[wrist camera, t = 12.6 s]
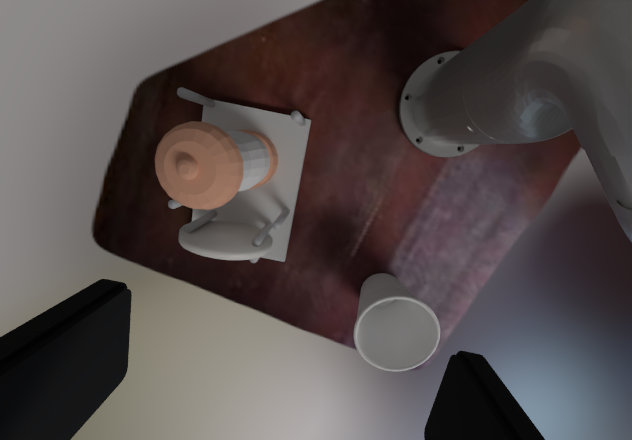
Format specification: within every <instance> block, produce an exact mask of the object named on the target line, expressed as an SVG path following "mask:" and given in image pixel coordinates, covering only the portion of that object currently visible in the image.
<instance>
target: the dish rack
mask: <svg viewBox="0 0 632 440" xmlns="http://www.w3.org/2000/svg"><path fill="white" fill-rule="evenodd" d="M177 95H178V96H179V97H181V98H184V99H187V100H190V101H193V102H196V103H199V104H202V105H203V115H202V122H207V123H209V124H212V125H215V126H217V127H219V128H221V129H222V130H223V131H224V132H228V131H237V130H251V131H255V132H258V133H261V134H263V135H265V136H266V137H267V138H268V139H270V140H271V142H272V143H273V145H274V146H275V147H276V151H277V154H278V166H277V169H276V172H275V174H274V175H273V177H272V178H271V179H270V180H269V181H267V182H266V183H264V184H263V185H261V186H259V187H257V188H253V189H247V190H243V191H237V193H236V194H235V196H234V197H233V198H232V199H231V200H230V201H228V202H227V203H226V204H224V205H223V206H221V207H217V208H214V209H210V210H205V209H193V214H192V222H190V223H189V224H186V225H184V226H182V227H181V228H180V230H179V243H180V244H181V246H182V247H183V248H184V249H187V250H189V251H191V252H193V253H196V254H198V255H202V256H205V257H210V258H215V259H223V260H248V259H249V260H250V261H251V262H252V263H256V262H257V261H258V259H259V258H260V257H262V258H267V259H272V260H277V261H282V262H285V259H286V254H287V249H288V243H289V238H290V232H291V227H292V222H293V216H294V211H295V205H296V200H297V195H298V189H299V184H300V178H301V173H302V168H303V162H304V157H305V151H306V146H307V141H308V135H309V130H310V124H311V120H309V119H304V118H303V116H302V115H301V114H300V113H299V112H298V111H293V112H292V113H291V116H290V115H285V114H280V113H275V112H270V111H265V110H260V109H255V108H251V107H246V106H241V105H236V104H231V103H226V102H221V101H216V100H212V99H209V98H207V97H205V96H202V95H200V94H197V93H195V92H192V91H190V90H187V89H185V88H182V87H180V88H178V90H177ZM168 206H169V207H170V208H171V209H175V208H177V207H180V206H182V205H181V204H179V203H178V202H177V201H175V200H174V199H173V200H170V201H169V202H168Z"/></svg>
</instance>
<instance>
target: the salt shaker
mask: <svg viewBox="0 0 632 440" xmlns="http://www.w3.org/2000/svg"><path fill="white" fill-rule="evenodd" d="M277 166H278V154H277V151H276V147H275V146H274V145H273V143H272V142H271V140H270V139H268V138H267V137H266V136H265V135H263V134H261V133H258V132H255V131H251V130H237V131H228V132H224V131H223V130H222V129H221V128H219V127H217V126H215V125H212V124H209V123H207V122H194V121H191V122H188V123H184V124H181V125H178V126H176V127H174V128H173V129H172V130H170V131H169V132H168V133H167V134H165V135H164V137H163V138H162V140H161V142H160V143H159V145H158V147H157V151H156V156H155V168H156V174H157V177H158V179H159V182H160V184H161V186H162V187H163V189H164V190H165V191H166V192H167V194H168V195H169V196H170V197H171V198H173V199H174V200H175V201H177V202H178V203H179V204H181V205H184V206H187V207H189V208H192V209H205V210H210V209H214V208H217V207H221V206H223V205H224V204H226V203H227V202H228V201H230V200H231V199H232V198H233V197H234V196H235V194H236V193H237V191H243V190H247V189H253V188H257V187H259V186H261V185H263V184H264V183H266V182H267V181H269V180H270V179H271V178H272V177H273V175H274V174H275V172H276V169H277Z"/></svg>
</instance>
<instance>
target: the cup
mask: <svg viewBox="0 0 632 440" xmlns="http://www.w3.org/2000/svg"><path fill="white" fill-rule="evenodd" d="M439 339H440V326H439V322H438V319H437V317H436V315H435V314H434V312H433V311H432V310H431V309H430V308H429V307H428V306H427V305H426V304H425V303H423V302H422V301H420V300H418V299H417V298H416V297H415V296H414V295H413V294H412V293H411V292H410V291H409V290H408V289H407V288H406V287H405V286H404V285H403V284H402V283H401V282H399V281H398V280H397V279H396V278H395V277H394V276H392V275H390V274H386V273H378V274H374V275H372V276H370V277H368V278H367V279H366V280H365V281H364V283H363V285H362V287H361V291H360V300H359V308H358V315H357V321H356V323H355V327H354V342H355V346H356V348H357V350H358V352H359V353H360V355H361V356H362V357H363V358H364V359H365V360H366V361H367V362H368V363H370V364H371V365H373V366H375V367H377V368H380V369H383V370H388V371H404V370H408V369H412V368H415V367H417V366H419V365H420V364H422V363H423V362H425V361H426V360H427V359H428V358H429V357H430V356H431V355H432V354H433V353H434V351H435V349H436V348H437V345H438V342H439Z"/></svg>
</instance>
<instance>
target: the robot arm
mask: <svg viewBox="0 0 632 440" xmlns="http://www.w3.org/2000/svg"><path fill="white" fill-rule="evenodd" d="M438 60H439V61H440V64H438V62H437V61H438ZM405 96H407V97H408V100H406V99H405ZM399 120H400V123H401V127H402V130H403V132H404V134H405V136H406V137H407V139H408V140H409V141H410V143H411V144H412V145H414V146H415V147H416V148H417V149H418V150H420V151H422V152H424V153H426V154H429V155H432V156H437V157H453V156H459V155H462V154H464V153H467V152H469V151H471V150H473V149H474V148H476V147H478V146H479V145H480V144H517V143H532V142H539V141H544V140H548V139H551V138H554V137H556V136H559V135H561V134H563V133H565V132H567V131H569V130H571V129H572V128H573V130H574V132H575V134H576V136H577V138H578V140H579V142H580V144H581V146H582V148H583V149H584V150H585V151H586V154H587V156H588V158H589V160H590V162H591V164H592V166H593V168H594V171H595V173H596V175H597V177H598V179H599V181H600V183H601V186H602V188H603V190H604V192H605V194H606V196H607V198H608V201H609V202H610V205H611V207H612V208H613V210H614V212H615V214H616V216H617V219H618V220H619V223H620V224H621V226H622V228H623V230H624V231H625V233H626V235H627V236H628V238H629V239H630V240H631V242H632V0H529V1H528V2H526V3H525V4H524V5H523V6H521V7H520V8H519V9H517V10H516V11H515V12H514V13H512V14H511V15H510V16H509V17H507V18H506V19H504V20H503V21H502V22H500V23H499V24H498V25H496V26H495V27H494V28H492V29H491V30H490V31H488V32H487V33H486V34H484V35H483V36H481V37H480V38H479V39H477V40H476V41H475V42H473V43H472V44H470V45H469V46H468V47H466V48H465V49H464V50H462V51H449V52H444V53H441V54H438V55H436V56H434V57H432V58H430V59H428V60H427V61H425V62H424V63H423V64H421V65H420V66H419V67H418V68H417V69H416V70H415V71H414V72H413V73H412V75H411V76H410V77H409V79H408V80H407V82H406V84H405V86H404V88H403V90H402V94H401V97H400V102H399ZM417 138H418V139H419V142H416V139H417ZM458 147H459V148H460V149H459V150H457V148H458ZM130 313H131V291H130V290H129V289H127V286H126V284H125V283H122V282H117V281H112V280H107V279H101V280H99V281H97V282H96V283H93V284H92V285H90V286H89V287H87V288H85V289H83V290H81V291H80V292H78V293H76V294H74V295H73V296H71V297H69V298H68V299H66V300H64V301H62V302H61V303H59V304H57V305H55V306H54V307H52V308H50V309H48V310H47V311H45V312H43V313H42V314H40V315H38V316H36V317H35V318H33V319H31V320H29V321H28V322H26V323H24V324H23V325H21V326H19V327H17V328H16V329H14V330H12V331H10V332H9V333H7V334H5V335H3V336H2V337H0V440H70V439H71V438H72V437H73V436H74V435H75V434H76V433H77V431H78V430H79V429H80V428H81V427H82V426H83V425H84V424H85V422H86V421H87V420H88V419H89V418H90V417H91V416H92V414H93V413H94V412H95V411H96V410H97V409H98V408H99V407H100V405H101V404H102V403H103V402H104V401H105V400H106V399H107V397H108V396H109V395H110V394H111V393H112V392H113V391H114V390H115V388H116V387H117V386H118V385H119V384H120V383H121V382H122V380H123V378H124V377H125V375H126V372H127V368H128V351H129V332H130ZM424 435H425V436H424V437H425V440H545V439H544V437H543V436H542V435H541V433H540V432H539V431H538V429H537V428H536V427H535V425H534V424H533V423H532V421H531V420H530V419H529V417H528V416H527V414H526V413H525V412H524V411H523V409H522V408H521V407H520V405H519V404H518V402H517V401H516V400H515V398H514V397H513V396H512V394H511V393H510V391H509V390H508V389H507V387H506V386H505V385H504V384H503V382H502V381H501V379H500V378H499V377H498V375H497V374H496V373H495V371H494V370H493V369H492V367H491V366H490V364H488V362H487V361H486V359H485V358H484V357H483V356H482V355H480V354H475V353H470V352H465V351H459V352H458V353H457V354H456V355H452V356H451V357H450V360H449V362H448V365H447V368H446V371H445V373H444V376H443V379H442V382H441V385H440V387H439V390H438V393H437V396H436V398H435V401H434V404H433V407H432V410H431V412H430V415H429V418H428V421H427V424H426V426H425V432H424Z"/></svg>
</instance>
